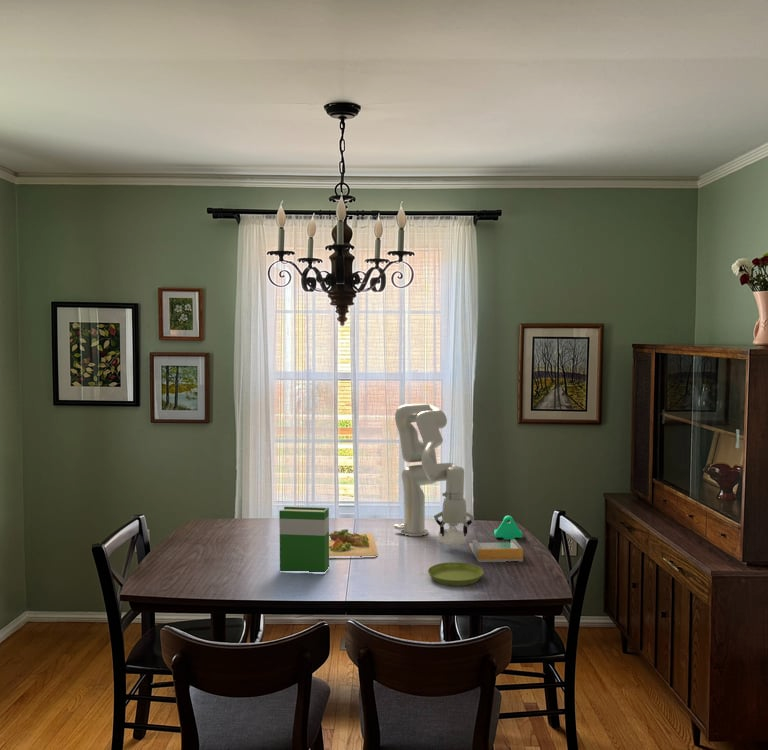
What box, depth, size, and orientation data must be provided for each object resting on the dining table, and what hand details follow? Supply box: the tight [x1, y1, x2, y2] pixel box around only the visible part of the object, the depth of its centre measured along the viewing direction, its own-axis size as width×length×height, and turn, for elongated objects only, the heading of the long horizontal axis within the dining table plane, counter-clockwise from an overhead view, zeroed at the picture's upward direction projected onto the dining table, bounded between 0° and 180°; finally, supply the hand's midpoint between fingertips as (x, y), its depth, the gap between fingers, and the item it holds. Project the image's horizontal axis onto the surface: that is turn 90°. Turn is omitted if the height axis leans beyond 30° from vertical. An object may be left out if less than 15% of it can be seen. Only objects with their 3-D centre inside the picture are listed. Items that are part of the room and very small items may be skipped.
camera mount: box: [493, 515, 523, 540], centre depth 314 cm, size 12×8×10 cm, turn 86°
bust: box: [438, 523, 467, 547], centre depth 296 cm, size 12×8×11 cm
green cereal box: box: [278, 506, 330, 572], centre depth 267 cm, size 18×7×24 cm, turn 82°
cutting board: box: [329, 528, 379, 557], centre depth 300 cm, size 35×23×8 cm
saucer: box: [427, 561, 484, 587], centre depth 258 cm, size 21×21×3 cm
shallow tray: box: [468, 538, 524, 563], centre depth 290 cm, size 18×24×5 cm
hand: (453, 535), depth 295 cm, fingers closed on bust, 9 cm apart
